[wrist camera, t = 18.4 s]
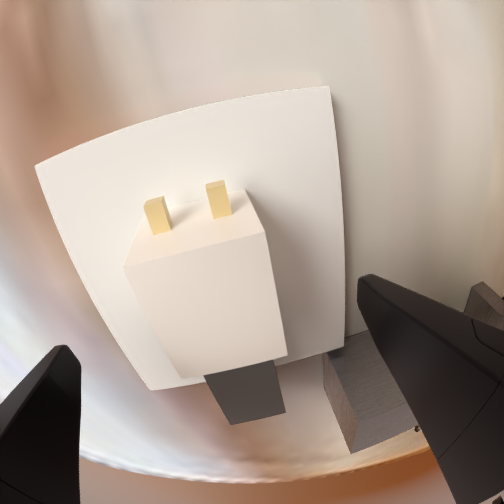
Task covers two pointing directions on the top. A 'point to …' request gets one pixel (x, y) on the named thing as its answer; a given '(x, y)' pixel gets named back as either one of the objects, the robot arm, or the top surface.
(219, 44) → the top surface
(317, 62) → the top surface
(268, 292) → the plug
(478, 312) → the grey notched block
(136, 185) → the white mat
